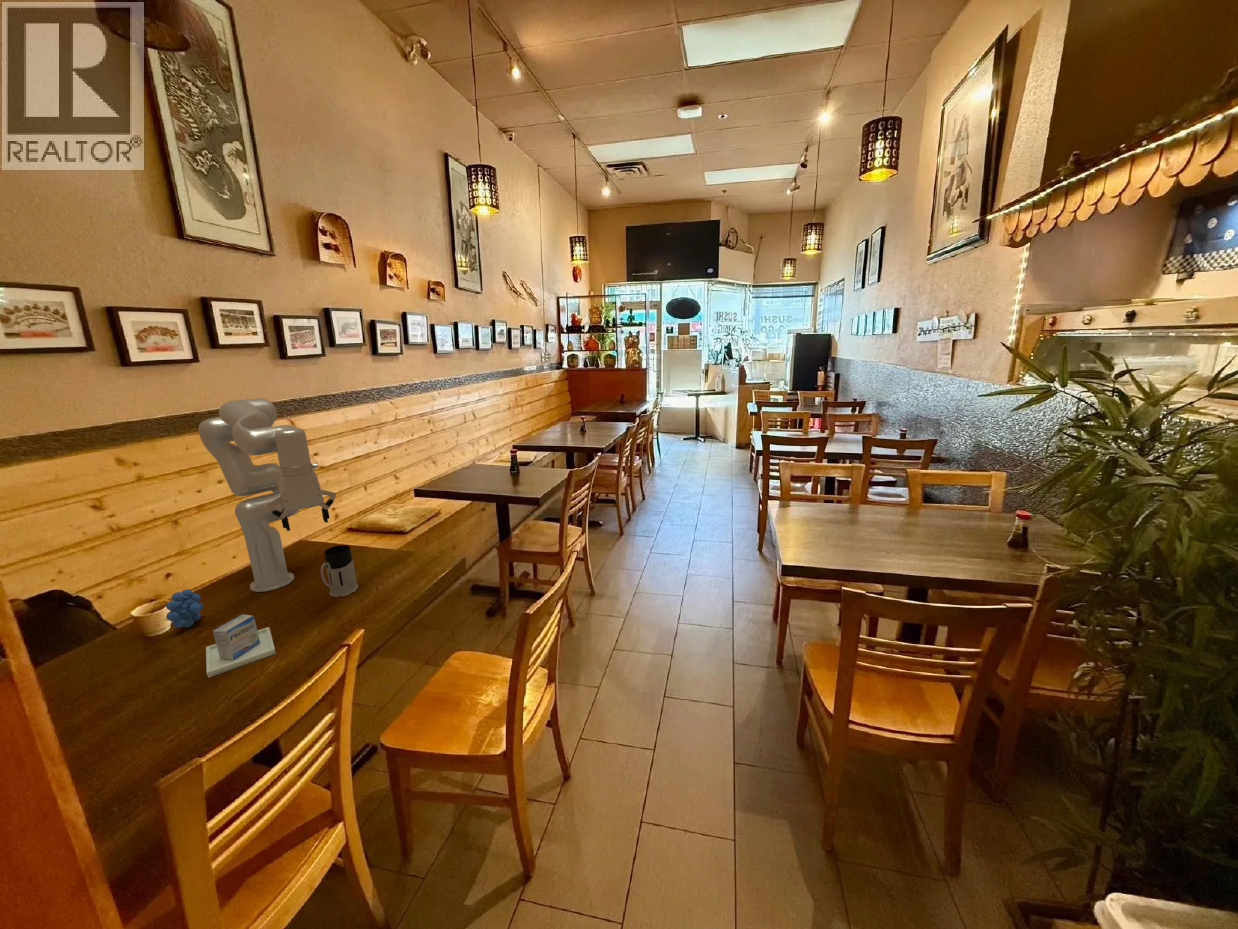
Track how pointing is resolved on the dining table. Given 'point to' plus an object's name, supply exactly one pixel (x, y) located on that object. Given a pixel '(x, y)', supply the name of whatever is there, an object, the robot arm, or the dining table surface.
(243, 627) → the medicine box
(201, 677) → the dining table surface
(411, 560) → the dining table surface
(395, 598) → the dining table surface
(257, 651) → the tray
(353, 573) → the glass holder
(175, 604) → the grapes
